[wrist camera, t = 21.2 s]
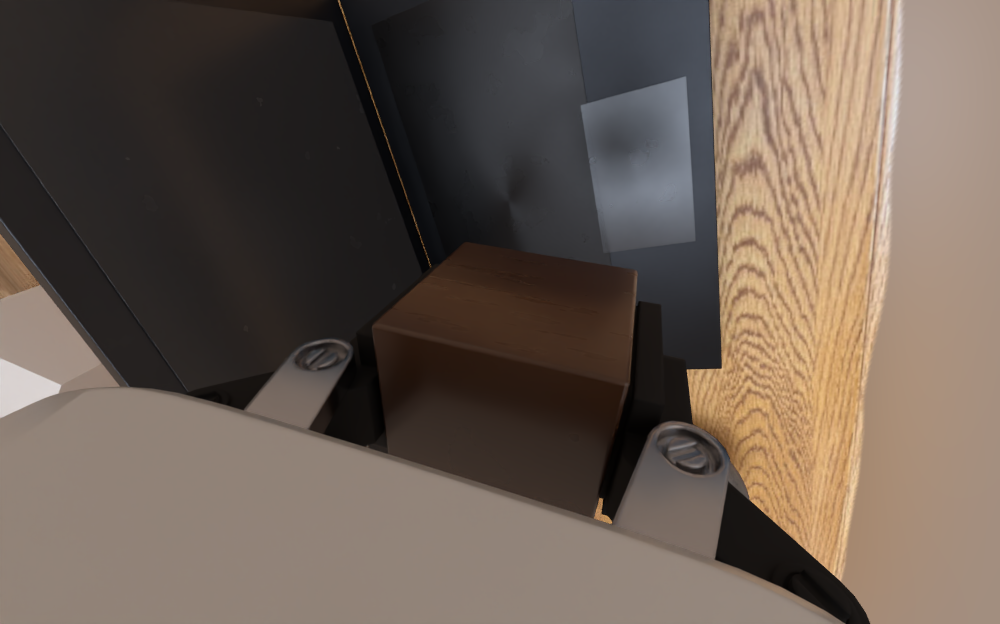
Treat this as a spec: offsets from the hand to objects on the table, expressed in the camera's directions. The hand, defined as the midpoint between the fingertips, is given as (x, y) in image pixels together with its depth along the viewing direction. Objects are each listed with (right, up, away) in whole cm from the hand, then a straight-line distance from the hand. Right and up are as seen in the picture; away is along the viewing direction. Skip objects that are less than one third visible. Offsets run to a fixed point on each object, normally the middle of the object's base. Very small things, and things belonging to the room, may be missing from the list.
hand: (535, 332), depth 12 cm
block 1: (-57, -3, +48) cm, 75 cm away
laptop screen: (-11, +3, +12) cm, 17 cm away
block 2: (0, 0, 0) cm, 0 cm away
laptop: (+3, +10, +18) cm, 21 cm away
